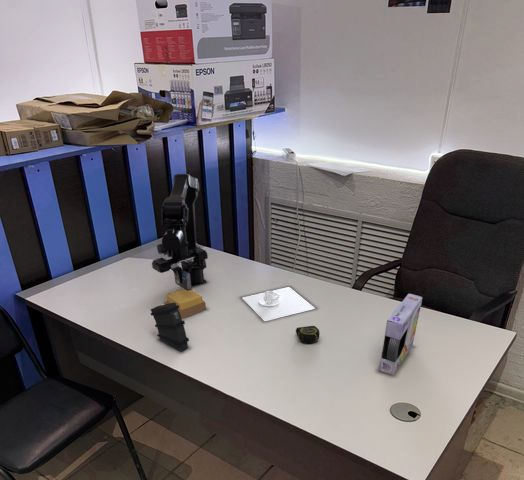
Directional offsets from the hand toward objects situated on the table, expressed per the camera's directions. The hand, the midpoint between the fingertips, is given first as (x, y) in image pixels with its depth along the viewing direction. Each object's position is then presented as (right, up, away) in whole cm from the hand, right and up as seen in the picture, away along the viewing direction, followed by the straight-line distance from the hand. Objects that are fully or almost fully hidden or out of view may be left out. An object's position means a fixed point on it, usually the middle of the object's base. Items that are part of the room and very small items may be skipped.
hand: (182, 282), depth 171 cm
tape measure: (+42, -20, -13) cm, 48 cm away
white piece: (+33, -6, +8) cm, 35 cm away
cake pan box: (+68, -26, -24) cm, 76 cm away
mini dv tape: (0, -1, +1) cm, 2 cm away
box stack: (0, -9, +6) cm, 11 cm away
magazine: (-1, -21, -13) cm, 25 cm away
